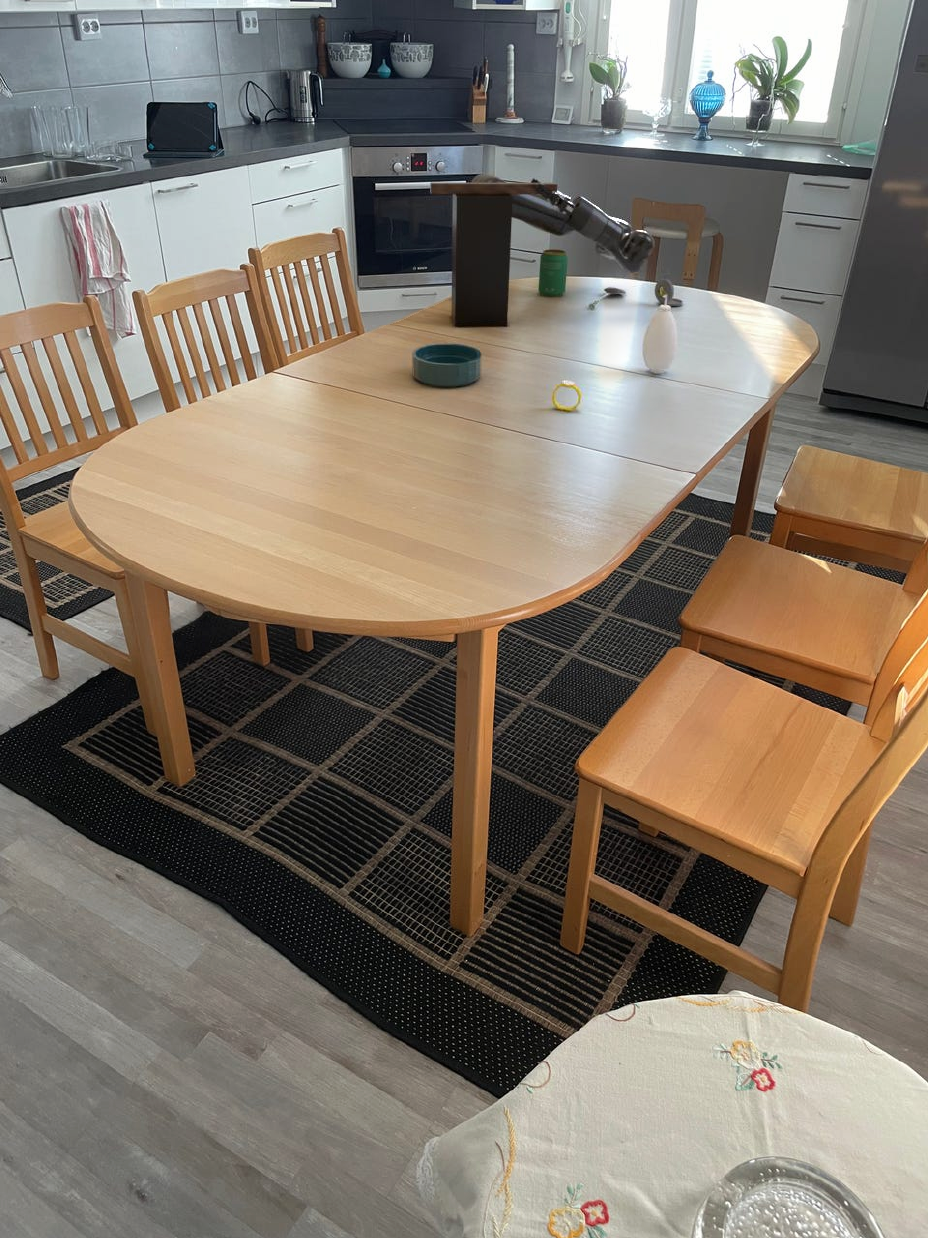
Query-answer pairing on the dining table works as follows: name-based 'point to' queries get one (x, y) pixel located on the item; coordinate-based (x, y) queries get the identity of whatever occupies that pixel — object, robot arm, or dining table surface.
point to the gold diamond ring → (568, 385)
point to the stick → (487, 188)
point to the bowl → (446, 365)
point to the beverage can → (553, 273)
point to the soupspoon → (609, 291)
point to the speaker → (481, 259)
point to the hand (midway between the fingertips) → (534, 183)
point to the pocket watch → (666, 289)
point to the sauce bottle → (660, 340)
